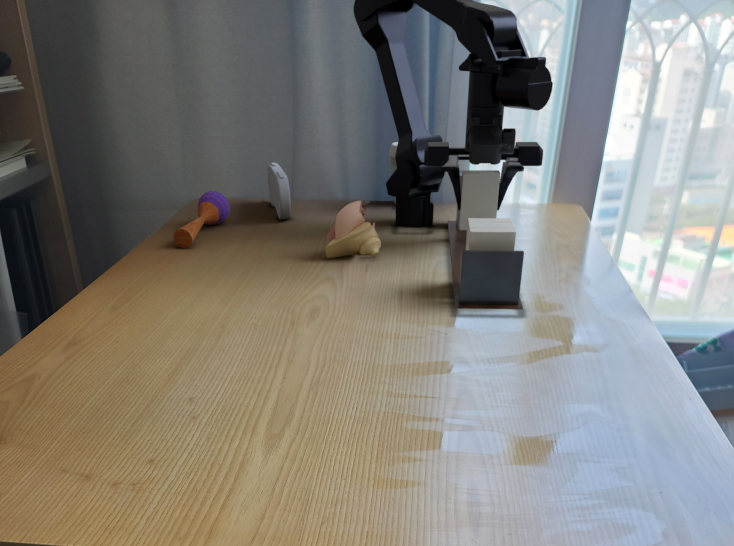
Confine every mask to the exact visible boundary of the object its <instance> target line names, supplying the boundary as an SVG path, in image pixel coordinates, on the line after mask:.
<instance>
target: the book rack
mask: <svg viewBox="0 0 734 546" xmlns="http://www.w3.org/2000/svg"><path fill="white" fill-rule="evenodd" d="M447 227H448V230H447V231H448V241H449V250H450V251H449V252H450V261H451V273H452V285H453V286H452V287H453V298H454V307H455V309H461V310H464V309H467V310H524V306H523V304H522V301H521V297H520V294H521V284H522V277H523V275H522V274H523V266H524V257H525V251H524V250H514V251H497V250H466V236H467V230H460V229H457V226H456V220H447Z"/></svg>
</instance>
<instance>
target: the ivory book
mask: <svg viewBox="0 0 734 546" xmlns="http://www.w3.org/2000/svg"><path fill="white" fill-rule="evenodd" d="M500 177H501V172H500V170H499V169H498V170H495V169H494V170H490V169H489V170H488V169H487V170H485V169H484V170H482V169H480V170H479V169H475V170H472V169H471V170H467V169H466V170H464V169H463V171H462V186H461V210H460V220H459V229H460V230H467V221H468V218H497V216H498V215H497V214H498V210H497V205H498V194H499V183H500Z"/></svg>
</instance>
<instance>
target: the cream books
mask: <svg viewBox="0 0 734 546" xmlns="http://www.w3.org/2000/svg"><path fill="white" fill-rule="evenodd" d="M516 239H517V230H516V227H515V225H514V223H513V220H512V218H508V217H507V218H505V217H503V218H501V217H498V218H497V217H496V218H468V221H467V236H466V250H497V251H516V250H515V248H516Z"/></svg>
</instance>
